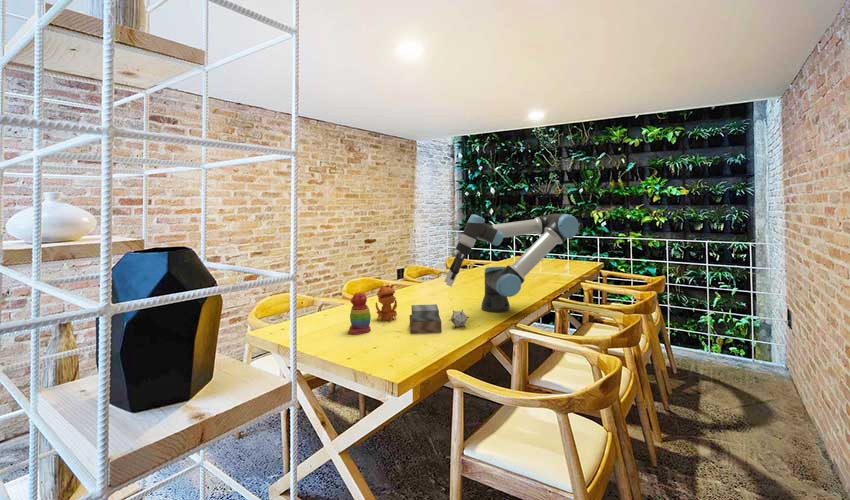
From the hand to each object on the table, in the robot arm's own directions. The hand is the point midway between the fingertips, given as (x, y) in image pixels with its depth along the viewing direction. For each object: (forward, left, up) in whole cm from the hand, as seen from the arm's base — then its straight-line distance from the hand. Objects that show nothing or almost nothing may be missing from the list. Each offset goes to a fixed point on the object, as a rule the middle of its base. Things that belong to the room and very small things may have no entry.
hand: (447, 284), depth 214 cm
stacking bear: (+42, +14, -18) cm, 48 cm away
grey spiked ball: (-4, +13, -18) cm, 23 cm away
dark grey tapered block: (+12, +14, -18) cm, 26 cm away
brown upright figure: (+30, -4, -18) cm, 35 cm away
